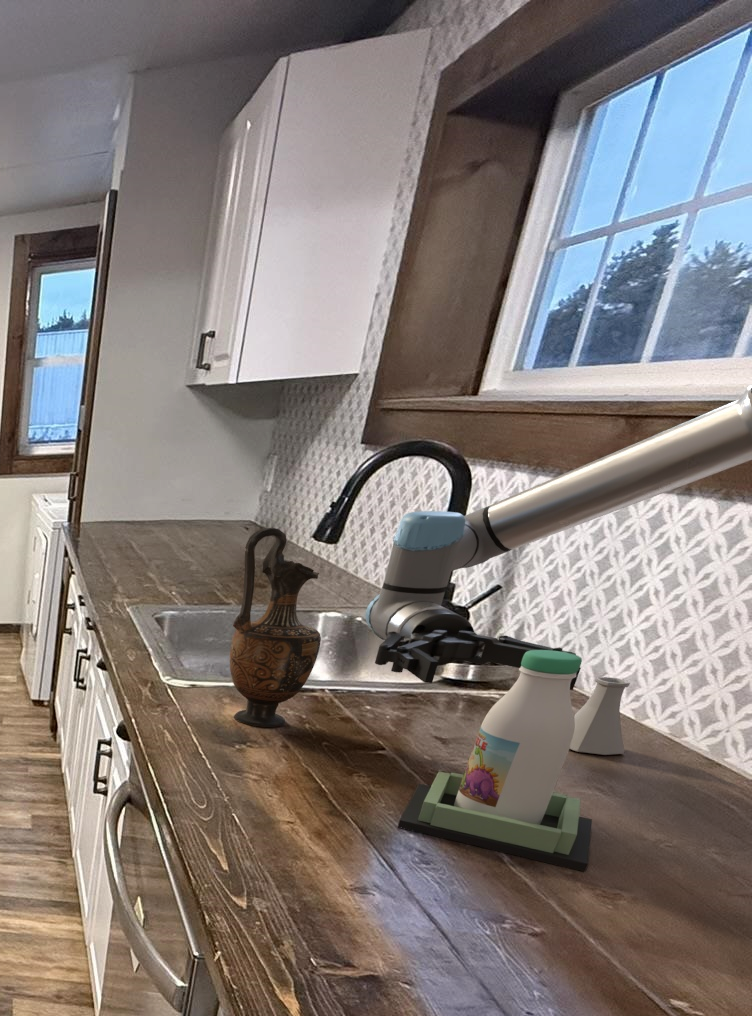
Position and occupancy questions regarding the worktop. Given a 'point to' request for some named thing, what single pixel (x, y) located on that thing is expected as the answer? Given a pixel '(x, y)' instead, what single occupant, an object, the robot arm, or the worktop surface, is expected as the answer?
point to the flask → (600, 719)
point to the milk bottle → (523, 741)
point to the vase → (272, 637)
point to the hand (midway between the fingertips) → (500, 675)
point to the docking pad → (501, 825)
